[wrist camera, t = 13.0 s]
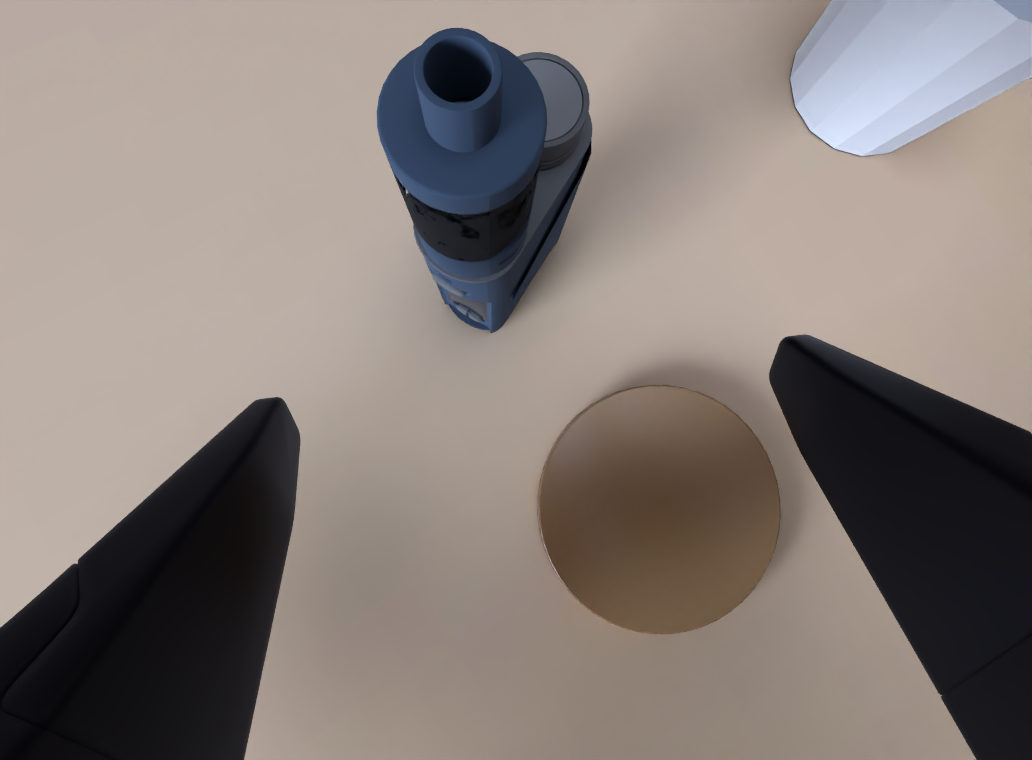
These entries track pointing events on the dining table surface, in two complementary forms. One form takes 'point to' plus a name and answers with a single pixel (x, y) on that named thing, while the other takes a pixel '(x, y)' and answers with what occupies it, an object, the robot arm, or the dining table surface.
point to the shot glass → (906, 67)
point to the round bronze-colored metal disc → (659, 509)
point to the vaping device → (484, 163)
